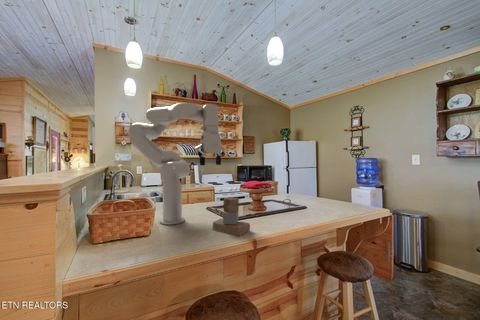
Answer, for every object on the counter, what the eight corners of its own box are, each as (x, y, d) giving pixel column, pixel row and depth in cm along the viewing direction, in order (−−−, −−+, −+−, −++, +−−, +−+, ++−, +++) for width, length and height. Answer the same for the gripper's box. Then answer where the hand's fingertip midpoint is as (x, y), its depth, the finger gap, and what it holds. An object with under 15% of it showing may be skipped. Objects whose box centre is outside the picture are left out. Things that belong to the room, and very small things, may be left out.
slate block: (238, 220, 107) (238, 210, 107) (236, 224, 101) (236, 213, 101) (226, 220, 108) (226, 209, 108) (223, 223, 102) (223, 212, 102)
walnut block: (223, 211, 105) (223, 198, 105) (231, 209, 109) (231, 197, 108) (230, 213, 102) (230, 200, 101) (238, 211, 105) (238, 198, 105)
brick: (211, 230, 106) (211, 220, 106) (222, 226, 113) (222, 216, 113) (240, 238, 97) (240, 227, 97) (250, 232, 104) (250, 222, 104)
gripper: (200, 128, 101) (200, 165, 102) (228, 131, 113) (228, 164, 114) (191, 129, 107) (191, 165, 107) (219, 132, 119) (219, 164, 119)
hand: (210, 165), depth 110 cm, fingers open, 9 cm apart
